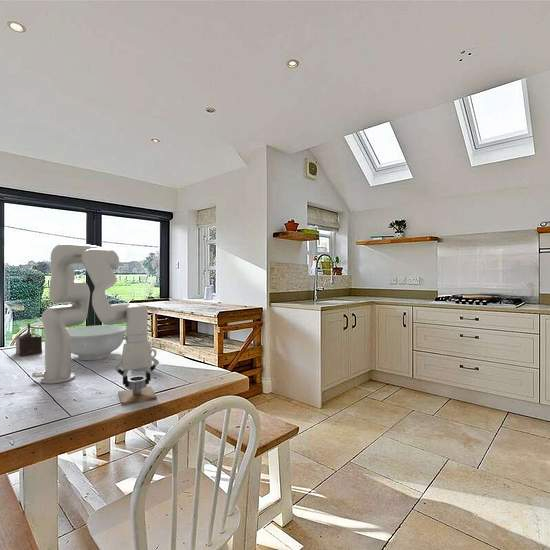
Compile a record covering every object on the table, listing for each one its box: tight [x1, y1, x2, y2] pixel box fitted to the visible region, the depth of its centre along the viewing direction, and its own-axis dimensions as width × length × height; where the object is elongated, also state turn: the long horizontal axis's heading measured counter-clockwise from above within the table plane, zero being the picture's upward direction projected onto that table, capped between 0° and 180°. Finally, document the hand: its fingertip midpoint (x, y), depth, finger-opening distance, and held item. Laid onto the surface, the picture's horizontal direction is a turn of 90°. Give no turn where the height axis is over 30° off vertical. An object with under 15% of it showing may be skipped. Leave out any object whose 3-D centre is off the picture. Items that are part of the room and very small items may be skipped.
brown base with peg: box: [117, 386, 157, 406], centre depth 131 cm, size 12×12×6 cm
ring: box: [126, 375, 148, 390], centre depth 131 cm, size 7×7×3 cm
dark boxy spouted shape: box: [15, 323, 44, 357], centre depth 193 cm, size 16×11×18 cm
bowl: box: [66, 324, 126, 361], centre depth 186 cm, size 32×32×15 cm
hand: (136, 384), depth 131 cm, fingers closed on ring, 7 cm apart
